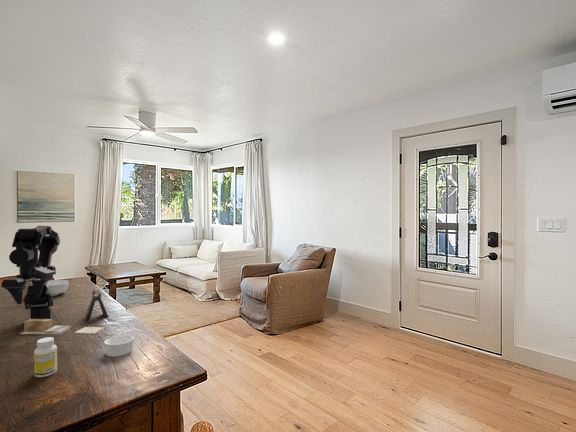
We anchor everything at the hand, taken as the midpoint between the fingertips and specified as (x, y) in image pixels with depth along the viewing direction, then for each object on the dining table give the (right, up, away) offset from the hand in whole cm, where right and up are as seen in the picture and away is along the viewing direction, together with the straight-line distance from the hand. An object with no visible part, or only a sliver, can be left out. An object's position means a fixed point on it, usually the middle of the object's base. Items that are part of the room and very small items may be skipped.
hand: (29, 300), depth 126 cm
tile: (+20, -12, 0) cm, 23 cm away
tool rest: (+7, -12, 0) cm, 14 cm away
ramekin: (+44, -13, -17) cm, 49 cm away
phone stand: (+17, -12, +17) cm, 26 cm away
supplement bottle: (+30, -13, -32) cm, 46 cm away
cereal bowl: (-32, -11, +55) cm, 64 cm away
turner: (+7, -11, 0) cm, 13 cm away
